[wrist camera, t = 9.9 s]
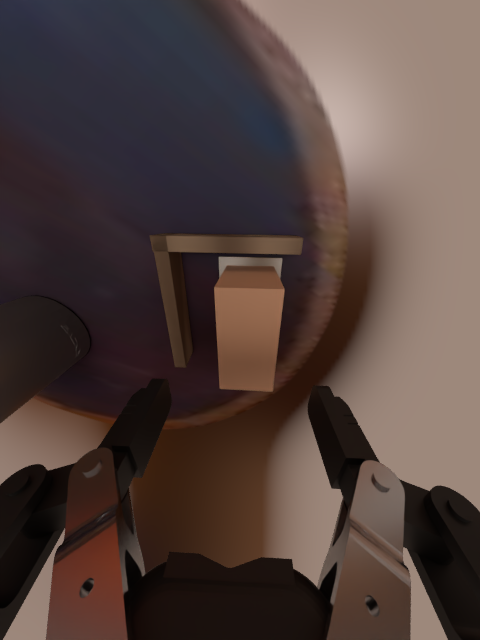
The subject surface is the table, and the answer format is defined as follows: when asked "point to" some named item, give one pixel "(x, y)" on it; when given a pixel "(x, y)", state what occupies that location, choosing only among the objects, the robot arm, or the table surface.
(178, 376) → the table surface
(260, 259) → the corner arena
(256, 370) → the terracotta block
